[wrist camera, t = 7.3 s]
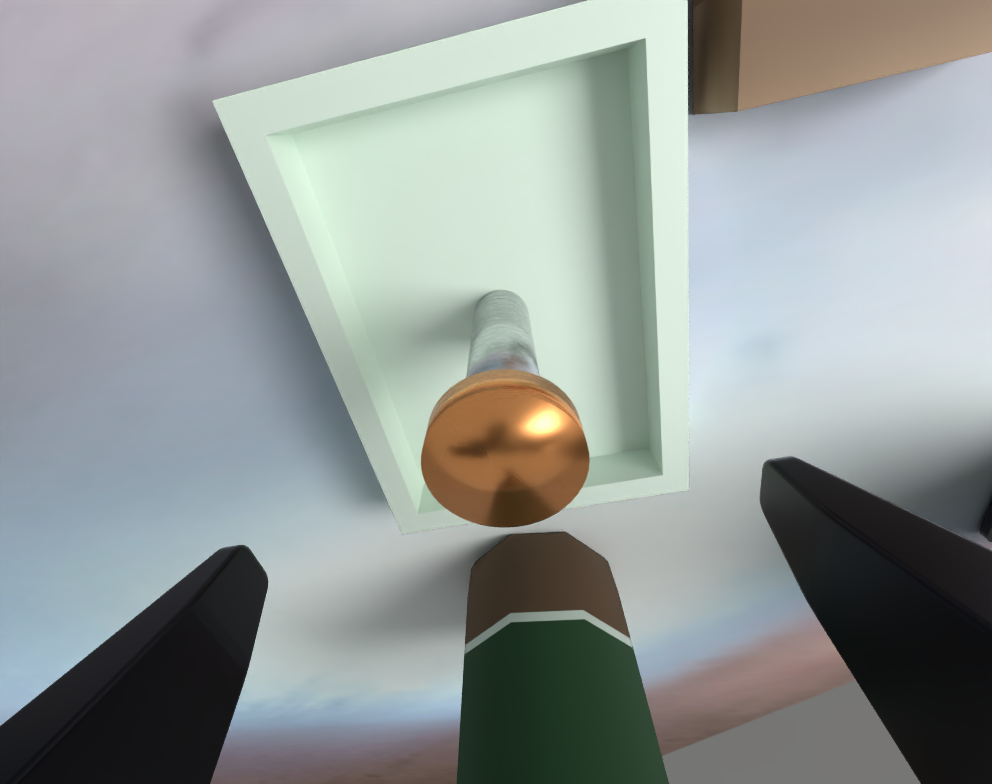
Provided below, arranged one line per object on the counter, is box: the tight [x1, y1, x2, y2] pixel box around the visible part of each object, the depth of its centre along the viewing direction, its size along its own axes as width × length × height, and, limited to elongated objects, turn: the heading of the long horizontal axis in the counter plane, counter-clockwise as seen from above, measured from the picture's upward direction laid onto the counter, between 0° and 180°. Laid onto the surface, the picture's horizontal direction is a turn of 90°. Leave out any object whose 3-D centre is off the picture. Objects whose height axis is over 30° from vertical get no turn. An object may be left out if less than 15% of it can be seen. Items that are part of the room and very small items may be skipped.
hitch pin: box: [421, 290, 590, 527], centre depth 13 cm, size 3×3×8 cm
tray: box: [212, 0, 689, 534], centre depth 16 cm, size 16×12×2 cm
